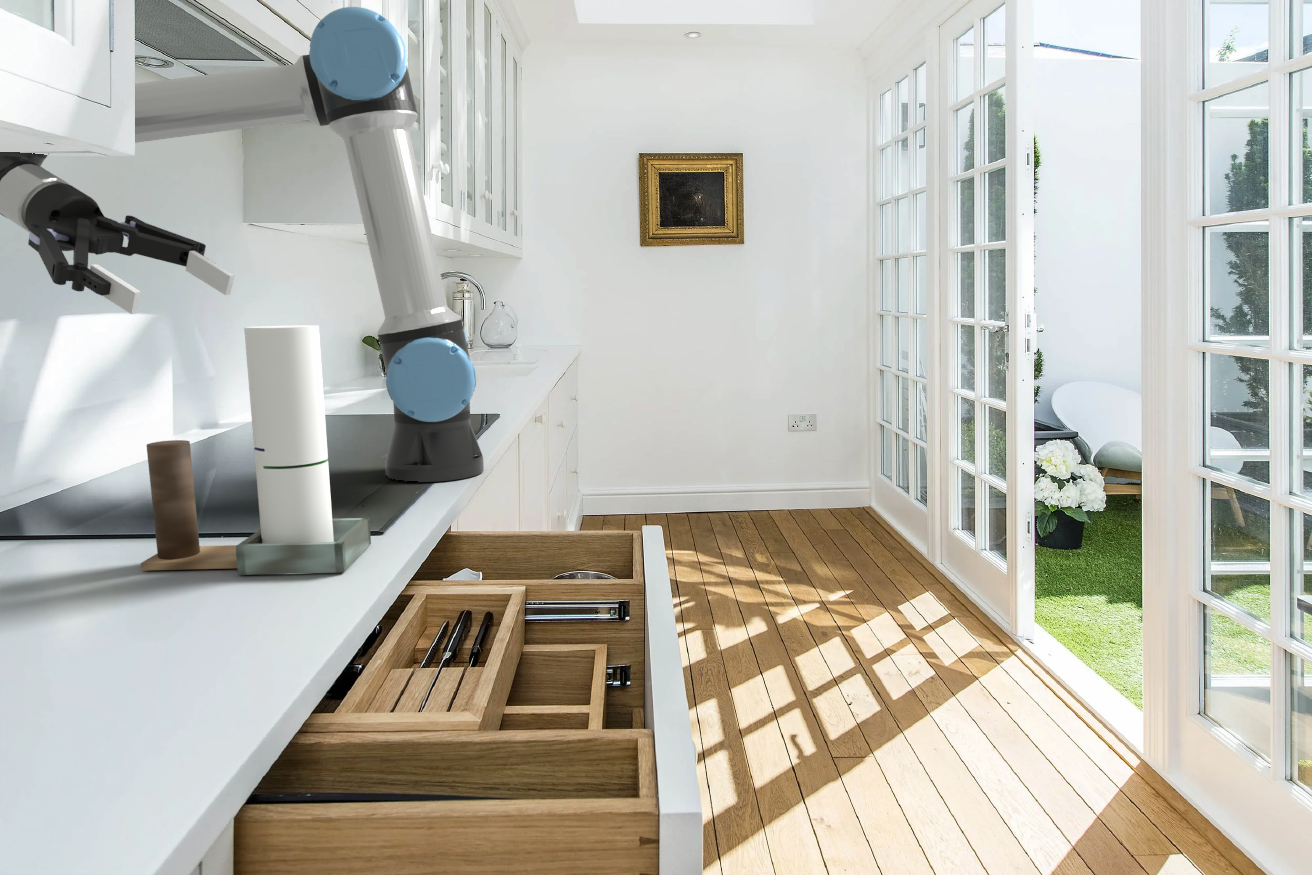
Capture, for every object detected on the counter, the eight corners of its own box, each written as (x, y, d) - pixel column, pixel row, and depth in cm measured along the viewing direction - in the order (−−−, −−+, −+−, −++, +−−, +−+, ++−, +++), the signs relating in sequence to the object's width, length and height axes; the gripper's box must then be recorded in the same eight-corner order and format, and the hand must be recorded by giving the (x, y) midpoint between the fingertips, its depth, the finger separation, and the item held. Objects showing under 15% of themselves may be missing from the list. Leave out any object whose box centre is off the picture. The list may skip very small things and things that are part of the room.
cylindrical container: (310, 547, 102) (294, 324, 98) (348, 557, 98) (332, 325, 94) (250, 562, 96) (230, 327, 92) (287, 574, 92) (268, 328, 88)
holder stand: (129, 577, 91) (116, 452, 89) (179, 547, 101) (168, 435, 99) (344, 572, 92) (335, 448, 90) (371, 543, 102) (364, 432, 100)
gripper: (134, 228, 122) (257, 304, 119) (-59, 248, 100) (85, 342, 96) (143, 177, 119) (269, 253, 115) (-54, 185, 96) (95, 280, 93)
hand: (186, 293), depth 106 cm, fingers open, 13 cm apart
